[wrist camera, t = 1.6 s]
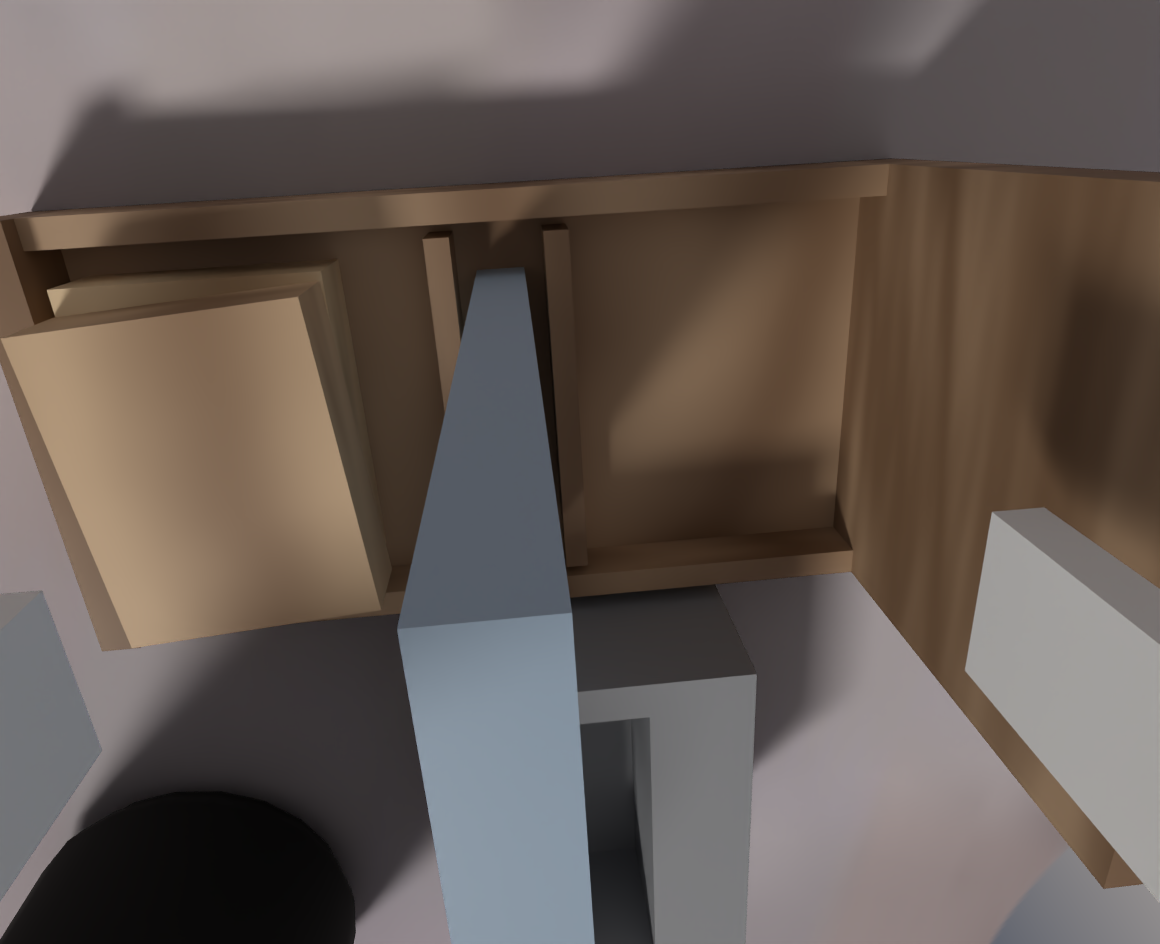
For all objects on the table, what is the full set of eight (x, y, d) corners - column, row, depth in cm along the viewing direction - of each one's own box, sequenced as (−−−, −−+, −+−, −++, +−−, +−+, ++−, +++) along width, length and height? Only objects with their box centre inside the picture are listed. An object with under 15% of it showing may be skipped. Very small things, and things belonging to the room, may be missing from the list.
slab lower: (174, 560, 22) (144, 598, 21) (90, 275, 19) (46, 289, 17) (386, 542, 23) (375, 577, 21) (338, 259, 20) (321, 271, 18)
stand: (484, 838, 29) (479, 1002, 23) (448, 579, 25) (432, 706, 19) (699, 815, 29) (744, 970, 24) (702, 556, 25) (756, 673, 20)
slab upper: (165, 603, 21) (131, 648, 19) (53, 318, 18) (0, 338, 16) (392, 568, 21) (381, 610, 19) (319, 280, 18) (297, 296, 16)
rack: (148, 592, 24) (-208, 1044, 12) (29, 211, 20) (-716, 326, 8) (856, 528, 25) (1172, 880, 13) (890, 158, 21) (1406, 186, 9)
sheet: (502, 516, 23) (494, 1199, 8) (477, 269, 20) (396, 628, 5) (543, 512, 23) (610, 1183, 8) (524, 266, 20) (572, 612, 5)
